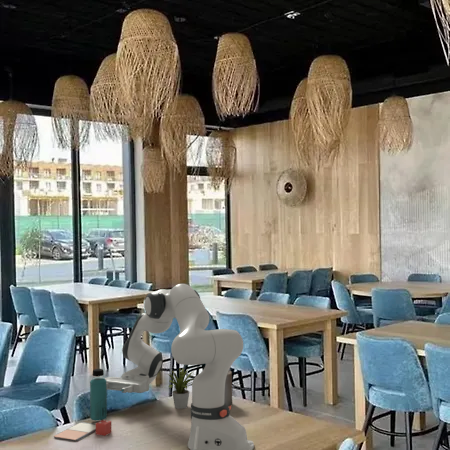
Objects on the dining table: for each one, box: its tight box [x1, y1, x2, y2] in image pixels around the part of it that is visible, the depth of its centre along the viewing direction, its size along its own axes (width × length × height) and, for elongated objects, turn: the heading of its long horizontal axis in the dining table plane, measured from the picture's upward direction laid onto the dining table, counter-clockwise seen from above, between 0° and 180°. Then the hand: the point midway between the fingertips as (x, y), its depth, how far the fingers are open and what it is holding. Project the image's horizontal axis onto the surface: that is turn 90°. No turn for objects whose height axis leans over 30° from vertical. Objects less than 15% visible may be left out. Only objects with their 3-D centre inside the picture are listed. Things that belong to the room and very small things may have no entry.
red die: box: [95, 419, 112, 437], centre depth 213 cm, size 4×4×4 cm
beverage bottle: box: [89, 368, 108, 421], centre depth 226 cm, size 6×7×20 cm
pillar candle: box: [224, 369, 233, 407], centre depth 247 cm, size 10×10×15 cm
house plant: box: [164, 366, 197, 410], centre depth 243 cm, size 14×14×16 cm
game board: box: [53, 421, 96, 442], centre depth 214 cm, size 10×17×1 cm, turn 158°
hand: (112, 389), depth 235 cm, fingers open, 8 cm apart
